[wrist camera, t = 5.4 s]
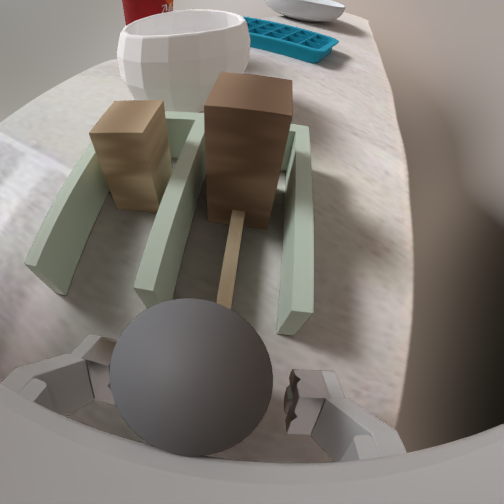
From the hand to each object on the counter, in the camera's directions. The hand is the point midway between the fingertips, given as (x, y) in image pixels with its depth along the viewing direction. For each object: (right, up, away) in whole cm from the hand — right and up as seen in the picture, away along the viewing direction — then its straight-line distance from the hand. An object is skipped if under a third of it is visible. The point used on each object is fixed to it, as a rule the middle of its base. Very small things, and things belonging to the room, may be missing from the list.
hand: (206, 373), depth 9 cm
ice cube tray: (+5, +40, +31) cm, 51 cm away
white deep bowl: (-5, +20, +18) cm, 27 cm away
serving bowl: (+14, +65, +47) cm, 81 cm away
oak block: (-6, +9, +11) cm, 15 cm away
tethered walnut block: (0, +2, +8) cm, 8 cm away
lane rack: (-3, +6, +10) cm, 12 cm away
